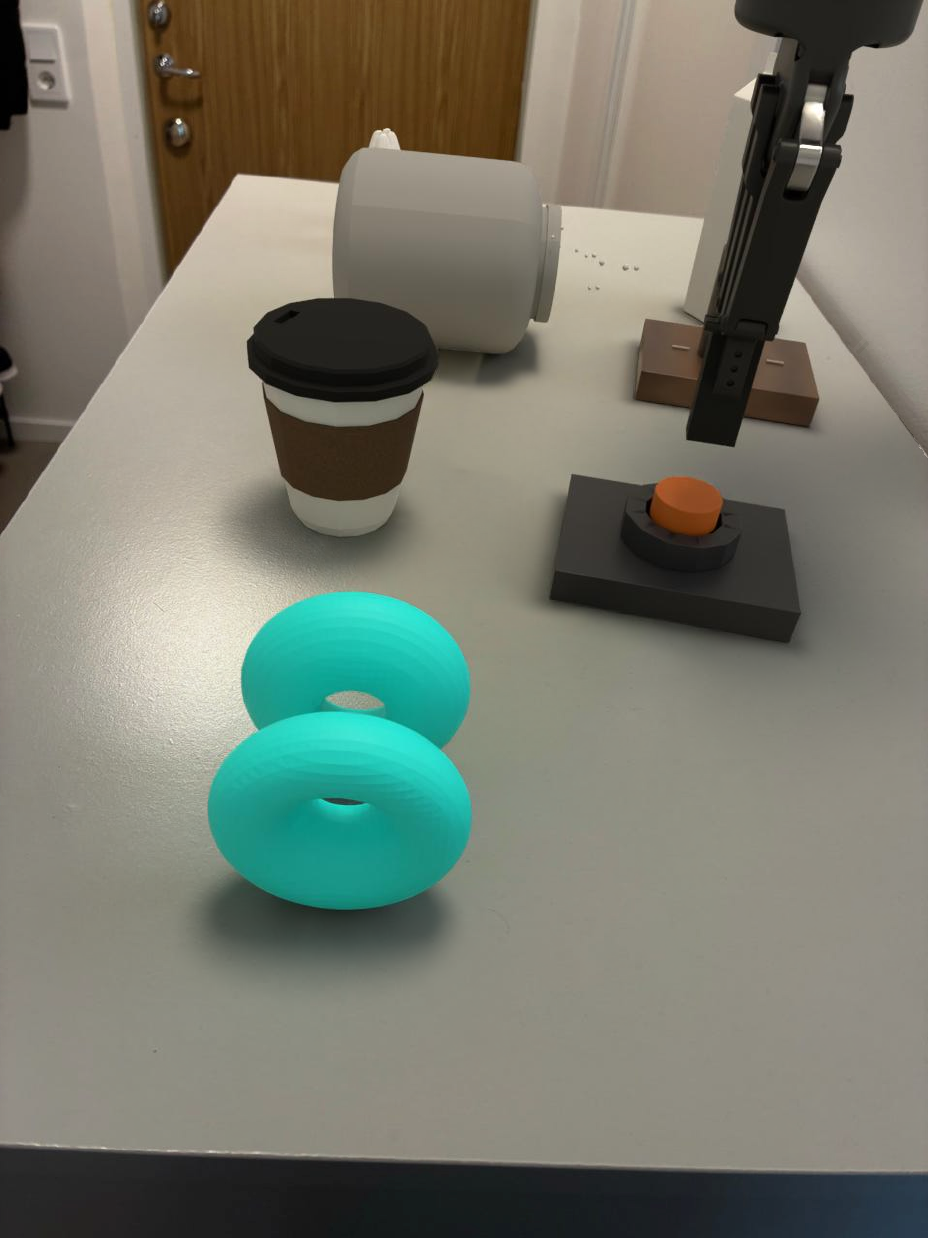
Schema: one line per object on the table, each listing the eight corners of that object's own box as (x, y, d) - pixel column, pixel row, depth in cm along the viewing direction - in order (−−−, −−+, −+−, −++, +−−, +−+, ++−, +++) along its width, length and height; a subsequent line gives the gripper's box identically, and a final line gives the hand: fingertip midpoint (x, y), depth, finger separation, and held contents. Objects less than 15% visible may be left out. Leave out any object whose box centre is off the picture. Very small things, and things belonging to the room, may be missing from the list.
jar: (376, 223, 90) (645, 223, 85) (362, 378, 89) (632, 386, 84) (307, 108, 71) (647, 99, 66) (290, 302, 71) (630, 307, 66)
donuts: (212, 918, 38) (186, 750, 32) (254, 734, 46) (240, 569, 39) (460, 929, 39) (484, 766, 32) (460, 746, 46) (480, 585, 40)
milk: (722, 335, 89) (794, 67, 74) (681, 310, 93) (741, 51, 78) (770, 326, 91) (848, 65, 77) (728, 302, 95) (794, 49, 81)
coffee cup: (222, 529, 58) (204, 344, 51) (309, 450, 66) (305, 280, 59) (383, 580, 56) (390, 393, 48) (453, 492, 64) (469, 319, 56)
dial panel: (797, 369, 84) (806, 340, 82) (809, 426, 76) (820, 396, 74) (639, 344, 85) (645, 316, 83) (635, 399, 77) (641, 368, 75)
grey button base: (775, 536, 63) (793, 485, 60) (789, 642, 55) (811, 587, 52) (566, 501, 64) (575, 449, 62) (548, 599, 56) (559, 544, 53)
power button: (714, 506, 58) (722, 481, 57) (716, 542, 55) (724, 517, 54) (650, 495, 59) (656, 471, 58) (648, 531, 56) (654, 505, 55)
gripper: (982, -56, 33) (786, 509, 48) (913, -80, 43) (769, 395, 58) (765, -77, 34) (639, 486, 49) (746, -97, 44) (646, 377, 59)
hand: (709, 436), depth 54 cm, fingers closed
